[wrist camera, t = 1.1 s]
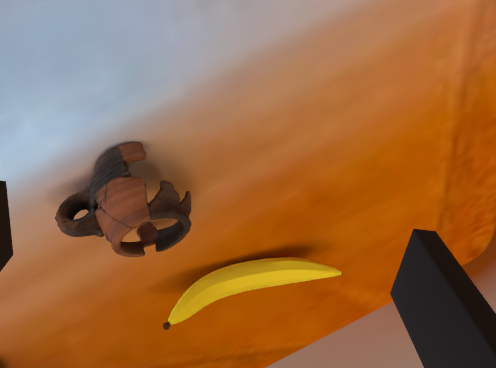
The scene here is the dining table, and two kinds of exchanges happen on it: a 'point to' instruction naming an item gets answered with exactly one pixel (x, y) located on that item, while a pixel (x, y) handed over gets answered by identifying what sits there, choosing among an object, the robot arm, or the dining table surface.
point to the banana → (246, 281)
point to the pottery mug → (125, 206)
